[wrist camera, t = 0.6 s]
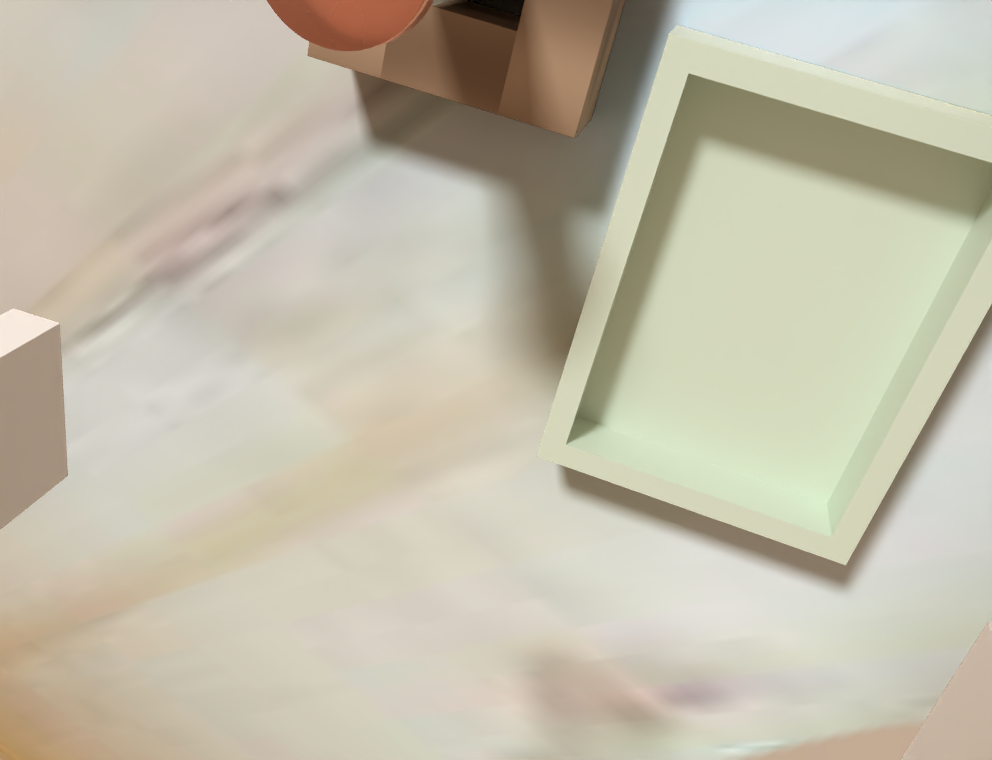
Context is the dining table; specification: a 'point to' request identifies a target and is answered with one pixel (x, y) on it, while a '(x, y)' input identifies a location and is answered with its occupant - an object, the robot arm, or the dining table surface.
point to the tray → (777, 293)
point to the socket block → (502, 58)
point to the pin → (351, 20)
